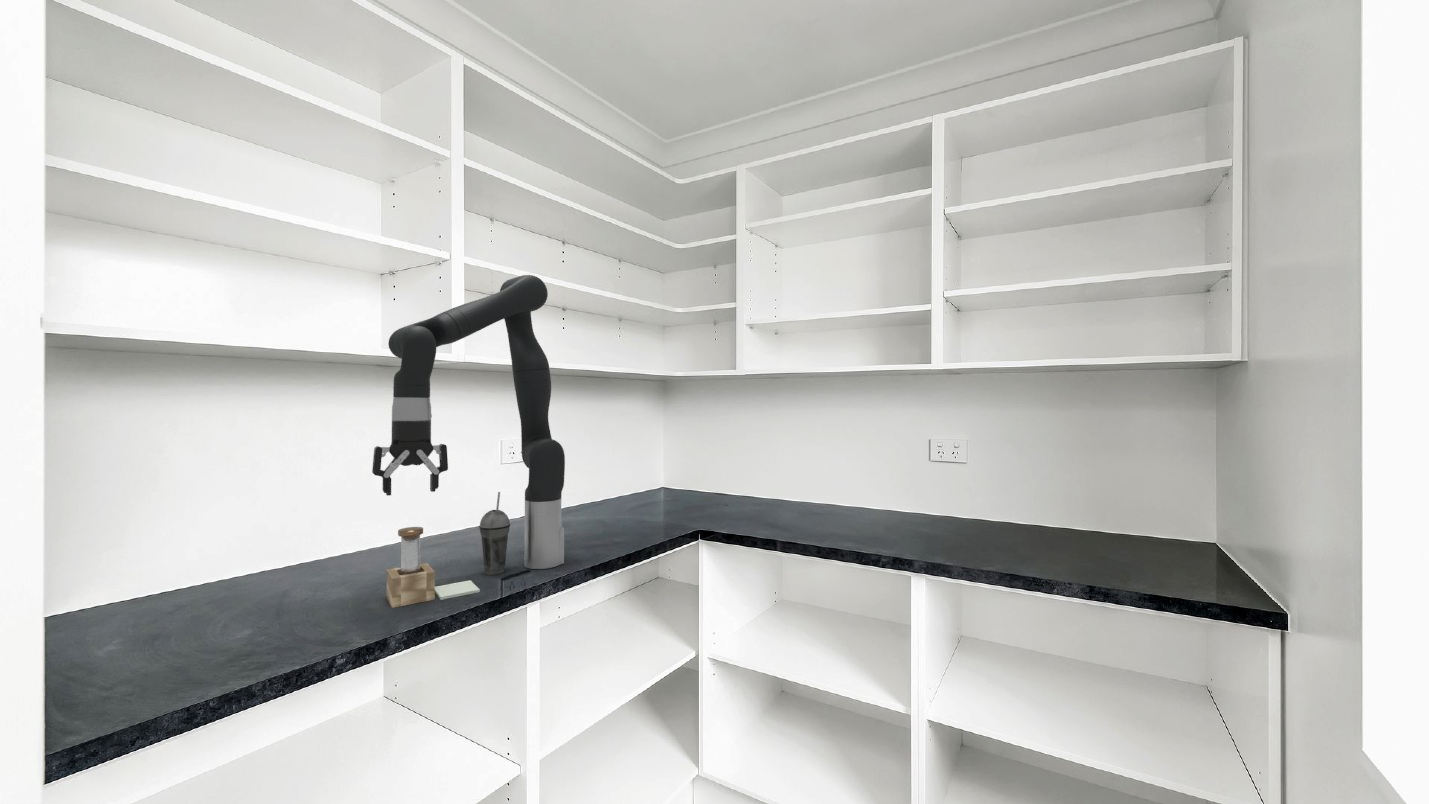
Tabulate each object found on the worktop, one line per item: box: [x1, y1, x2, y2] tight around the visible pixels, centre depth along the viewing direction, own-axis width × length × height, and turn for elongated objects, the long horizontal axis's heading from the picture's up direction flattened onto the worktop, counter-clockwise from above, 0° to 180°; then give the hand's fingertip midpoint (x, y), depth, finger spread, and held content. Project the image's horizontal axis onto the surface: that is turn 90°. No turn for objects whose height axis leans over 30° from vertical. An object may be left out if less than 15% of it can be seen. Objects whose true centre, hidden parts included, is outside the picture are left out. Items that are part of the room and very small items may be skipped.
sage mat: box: [435, 580, 481, 601], centre depth 125 cm, size 8×8×1 cm
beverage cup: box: [478, 491, 511, 576], centre depth 139 cm, size 7×7×20 cm
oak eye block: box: [386, 562, 436, 609], centre depth 120 cm, size 8×8×6 cm
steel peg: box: [397, 526, 424, 575], centre depth 120 cm, size 5×5×15 cm
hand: (411, 493), depth 120 cm, fingers open, 8 cm apart
